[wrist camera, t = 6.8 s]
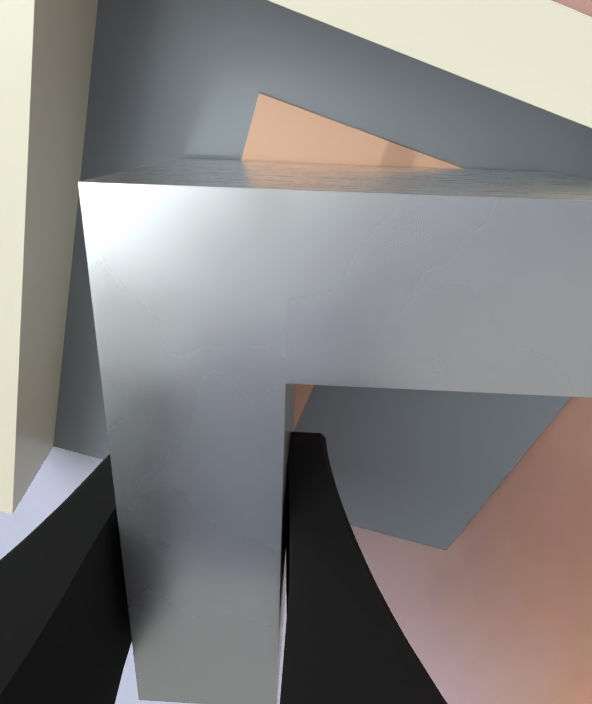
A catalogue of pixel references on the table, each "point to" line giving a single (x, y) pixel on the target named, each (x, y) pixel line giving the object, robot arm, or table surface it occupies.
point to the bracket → (297, 359)
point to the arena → (272, 146)
